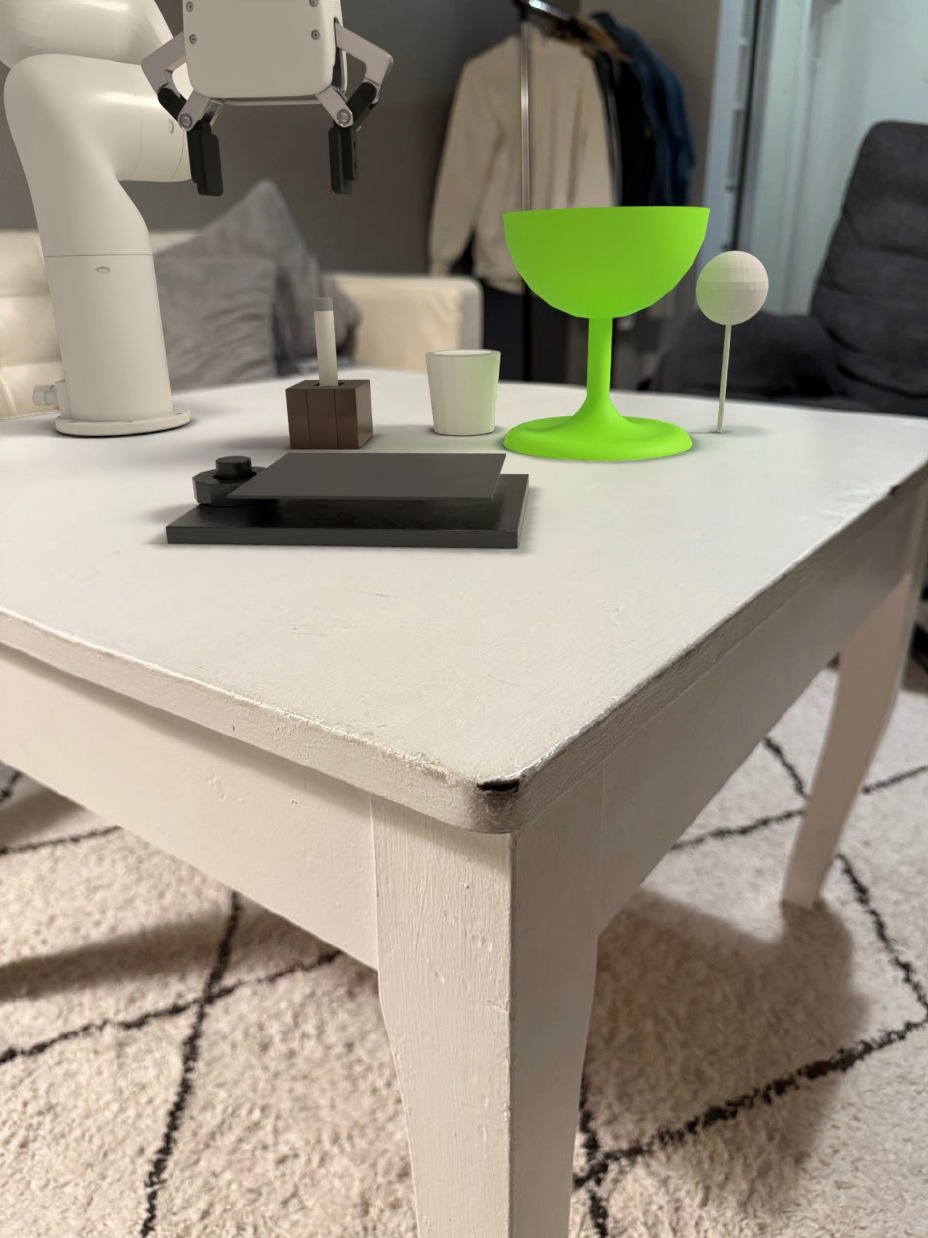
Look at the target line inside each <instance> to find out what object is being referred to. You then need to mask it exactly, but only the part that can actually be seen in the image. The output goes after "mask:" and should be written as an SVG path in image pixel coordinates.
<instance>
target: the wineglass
mask: <svg viewBox="0 0 928 1238" xmlns="http://www.w3.org/2000/svg"><path fill="white" fill-rule="evenodd" d="M710 212H711V208H709V207H702V206H680V205H679V206H674V205H672V206H669V205H667V206H665V205H663V206H662V205H661V206H660V205H659V206H658V205H657V206H656V205H655V206H651V205H649V206H648V205H647V206H644V205H643V206H640V205H639V206H598V207H597V206H593V207H566V208H546V209H530V210H518V211H517V210H516V211H509V212H503V213H502V221H503V222H502V223H503V230H504V238H505V244H506V247H507V250H508V252H509V255H510V256H511V260H512V262H513V264H514V267H515V269H516V271H517V272H518V274H519V275H520V276H521V278H522V279H523V280H524V282H525V283H526V285H527V286H528V288H529V289H530V290H531V291H532V292H533V293H534V294H535V295H537V296H538V297H540V298H541V299H542V300H543V301H544V302H546V303H547V304H548V305H549V306H551V307H552V308H554V309H556V310H559V311H562V312H564V313H567V314H568V315H571V316H573V317H577V318H583V319H584V318H585V319H588V339H587V341H588V342H587V343H588V344H587V368H586V369H587V370H586V371H587V372H586V373H587V374H586V378H587V379H586V397H585V399H584V401H583V403H582V404H581V406H580V408H579V409H578V410H577V411H576V412H575V413H574V414H573V415H564V416H563V415H562V416H553V417H545V418H539V419H533V420H528V421H525V422H522V423H519V424H517V425H516V426H514V427H512V428H511V429H509V430H508V431H507V433H506V434H505V436H504V439H503V442H502V446H504V447H505V448H506V449H507V450H508V451H514V452H516V453H518V454H519V453H520V454H524V455H528V456H533V457H539V458H547V459H554V460H564V461H565V460H566V461H585V462H617V461H635V460H645V459H655V458H662V457H667V456H672V455H676V454H680V453H683V452H686V451H687V452H688V451H689V450H690V449H691V448H692V446H693V441H692V439H691V437H690V435H689V434H688V433H687V431H686V430H685V429H684V428H682V427H680V426H678V425H676V424H674V423H671V422H667V421H663V420H660V419H653V418H646V417H640V416H627V415H621V414H620V412H618V410H617V409H616V407H615V406H614V404H613V402H612V399H611V398H610V392H611V391H610V389H611V367H612V366H611V365H612V339H613V319H614V318H623V317H627V316H629V315H632V314H634V313H637V312H639V311H641V310H644V309H646V308H648V307H651V306H653V305H654V304H655V303H657V302H658V301H660V299H662V298H663V297H665V295H667V294H669V292H671V291H672V290H674V289H675V287H676V286H677V285H678V283H679V282H680V281H681V280H682V279H683V278H684V276H685V275H686V274H687V272H688V271H689V270H690V269H691V267H692V266H693V264H694V263H695V260H696V258H697V256H698V254H699V251H700V249H701V247H702V245H703V243H704V241H705V238H706V233H707V229H708V228H707V227H708V222H709V218H710Z"/></svg>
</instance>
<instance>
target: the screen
mask: <svg viewBox="0 0 928 1238" xmlns="http://www.w3.org/2000/svg"><path fill="white" fill-rule="evenodd" d="M506 457H507V453H504V452H503V453H502V452H501V453H500V452H499V453H498V452H491V453H490V452H485V453H484V452H467V453H466V452H455V453H454V452H287V453H285V454H284V455H283V456H282V457H280V458H278V459H277V460H275V461H274V462H273V463H271V464H270V465H268V466H267V467H265V468H266V469H264V470H263V471H261V472H260V473H258V474H257V475H256V476H254V477H253V478H251V479H250V480H248V481H247V482H246V483H244V484H243V485H241V486H240V487H238V488H237V489H236V490H234V491H233V492H231V493H230V494H228V495H227V496H228V498H233V499H342V500H450V501H492V498H493V495H494V491H495V488H496V485H497V482H498V479H499V476H500V474H502V471H503V466H504V464H505V461H506Z"/></svg>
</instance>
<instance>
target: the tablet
mask: <svg viewBox="0 0 928 1238" xmlns="http://www.w3.org/2000/svg"><path fill="white" fill-rule="evenodd" d="M266 468H267V467H266V466H265V467H264V466H259V465H257V466H256V465H252V472H253V477H254V476H256V475H257V474H258V473H260V472H261V471H263V470H264V469H266ZM253 477H249V478H245V479H237V480H218V479H217V473H216V468H212V469H209V470H205V471H200V472H199V473H197V474H195V475H194V476H192V477H191V483H192V488H193V496H194V497H193V498H194V500H195V502H197V505H195V506H194V507H193V508H191V509H190V510H188V511H187V512H185V513H184V514H182V515H181V516H179V517H178V518H176V519H175V520H174V521H172V522H171V523H169V524H168V525H166V526H165V533H166V534H165V535H166V542H167V544H171V545H172V544H174V545H175V544H177V545H179V544H180V545H181V544H182V545H236V546H237V545H238V546H239V545H240V546H241V545H243V546H244V545H245V546H309V547H311V546H313V547H314V546H315V547H373V548H374V547H377V548H379V547H380V548H383V547H384V548H439V549H441V548H445V549H451V548H452V549H456V548H457V549H458V548H459V549H509V550H511V549H513V550H515V549H518V548H519V543H520V539H521V533H522V527H523V523H524V517H525V511H526V506H527V501H528V496H529V490H530V474H529V473H500V476H499V479H498V482H497V485H496V488H495V491H494V495H493V498H492V501H450V500H342V499H233V498H228V496H227V495H228V494H230V493H231V492H233V491H234V490H236V489H237V488H238V487H240V486H241V485H243V484H244V483H246V482H247V481H248V480H250V479H251V478H253Z"/></svg>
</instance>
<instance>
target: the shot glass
mask: <svg viewBox="0 0 928 1238" xmlns="http://www.w3.org/2000/svg"><path fill="white" fill-rule="evenodd" d="M424 355H425V362H426V363H425V364H426V365H425V366H426V372H427V373H426V374H427V380H428V389H429V397H430V405H431V414H432V423H433V430H434V432H435V433H437V434H440V435H445V436H446V435H447V436H475V435H477V436H478V435H484V434H489V433H493V432H494V431H495V426H496V413H497V401H498V391H499V390H498V389H499V378H500V377H499V376H500V365H501V355H502V353H501V351H498V350H494V349H488V348H487V349H486V348H451V349H440V350H434V351H429V352H426V353H425V354H424Z"/></svg>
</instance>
